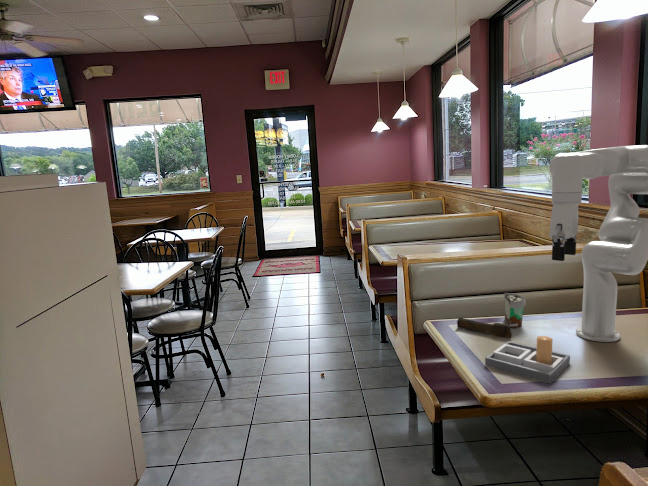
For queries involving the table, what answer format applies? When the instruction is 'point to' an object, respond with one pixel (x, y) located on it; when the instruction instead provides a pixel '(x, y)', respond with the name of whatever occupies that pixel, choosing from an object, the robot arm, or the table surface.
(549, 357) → the rounded peg
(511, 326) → the food container
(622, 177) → the robot arm
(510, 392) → the table surface
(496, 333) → the hand tool
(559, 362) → the tray
